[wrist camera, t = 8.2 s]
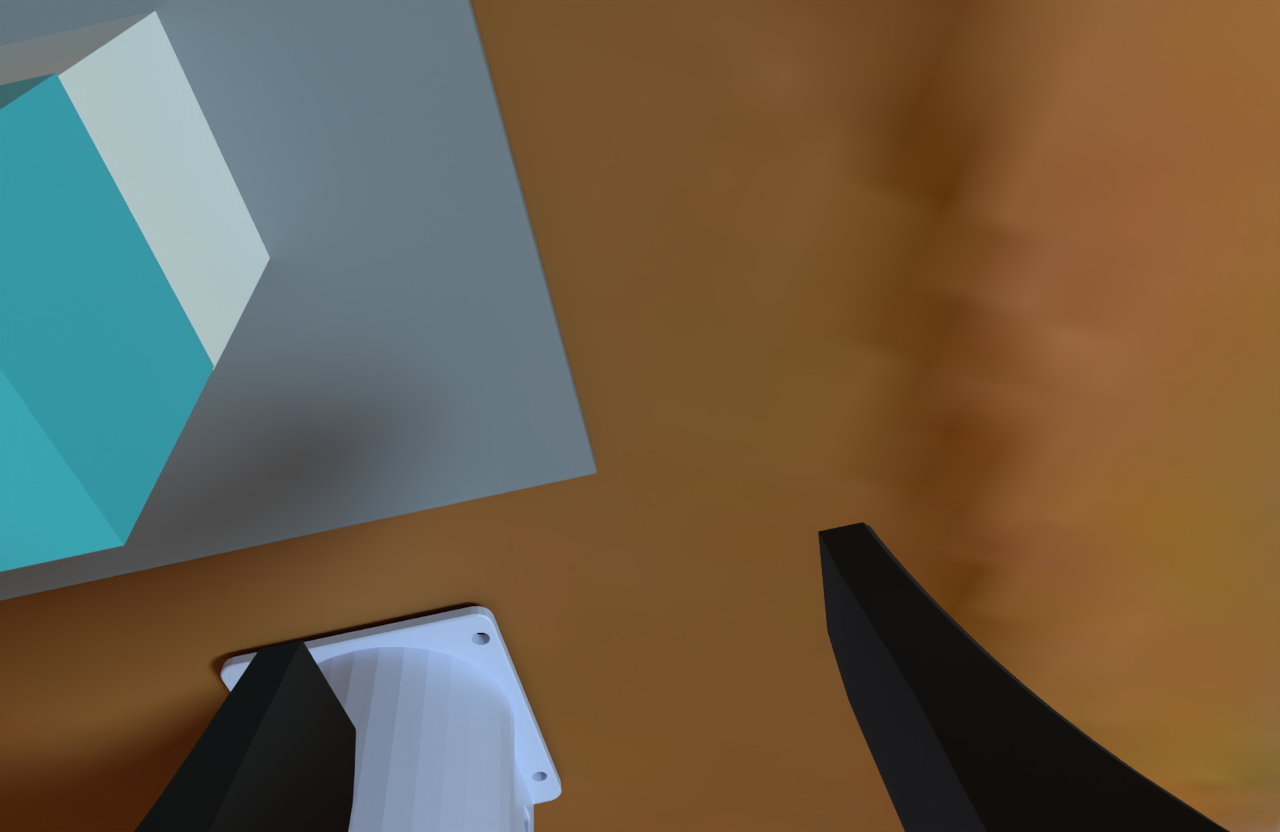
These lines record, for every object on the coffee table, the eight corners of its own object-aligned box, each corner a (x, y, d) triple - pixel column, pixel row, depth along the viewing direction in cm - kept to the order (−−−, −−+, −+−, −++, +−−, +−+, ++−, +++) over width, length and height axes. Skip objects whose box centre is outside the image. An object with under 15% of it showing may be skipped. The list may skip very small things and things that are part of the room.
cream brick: (269, 257, 20) (213, 370, 16) (41, 308, 20) (-66, 431, 16) (155, 10, 17) (54, 78, 13) (-112, 71, 17) (-287, 156, 13)
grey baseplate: (595, 461, 24) (596, 472, 24) (6, 587, 25) (-3, 601, 24) (391, -295, 15) (387, -297, 15) (-554, -80, 15) (-583, -75, 15)
